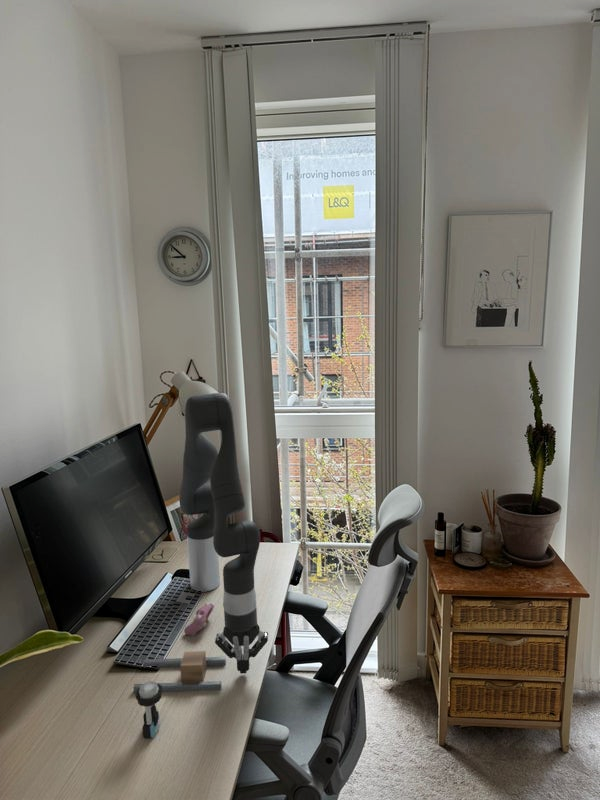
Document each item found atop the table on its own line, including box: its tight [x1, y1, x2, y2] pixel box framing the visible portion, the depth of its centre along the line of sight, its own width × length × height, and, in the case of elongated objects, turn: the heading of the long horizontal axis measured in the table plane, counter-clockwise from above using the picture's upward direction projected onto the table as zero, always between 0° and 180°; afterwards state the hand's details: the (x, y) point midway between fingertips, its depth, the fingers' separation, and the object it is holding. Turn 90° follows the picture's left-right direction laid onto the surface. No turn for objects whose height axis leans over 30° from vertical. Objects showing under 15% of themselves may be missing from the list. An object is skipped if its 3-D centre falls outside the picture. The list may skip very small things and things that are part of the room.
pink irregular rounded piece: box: [183, 602, 215, 636], centre depth 146 cm, size 10×5×7 cm, turn 169°
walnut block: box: [179, 650, 207, 682], centre depth 126 cm, size 5×5×5 cm
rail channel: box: [132, 656, 227, 694], centre depth 127 cm, size 10×20×2 cm, turn 91°
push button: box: [135, 680, 163, 739], centre depth 111 cm, size 7×5×10 cm
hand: (243, 671), depth 127 cm, fingers closed
